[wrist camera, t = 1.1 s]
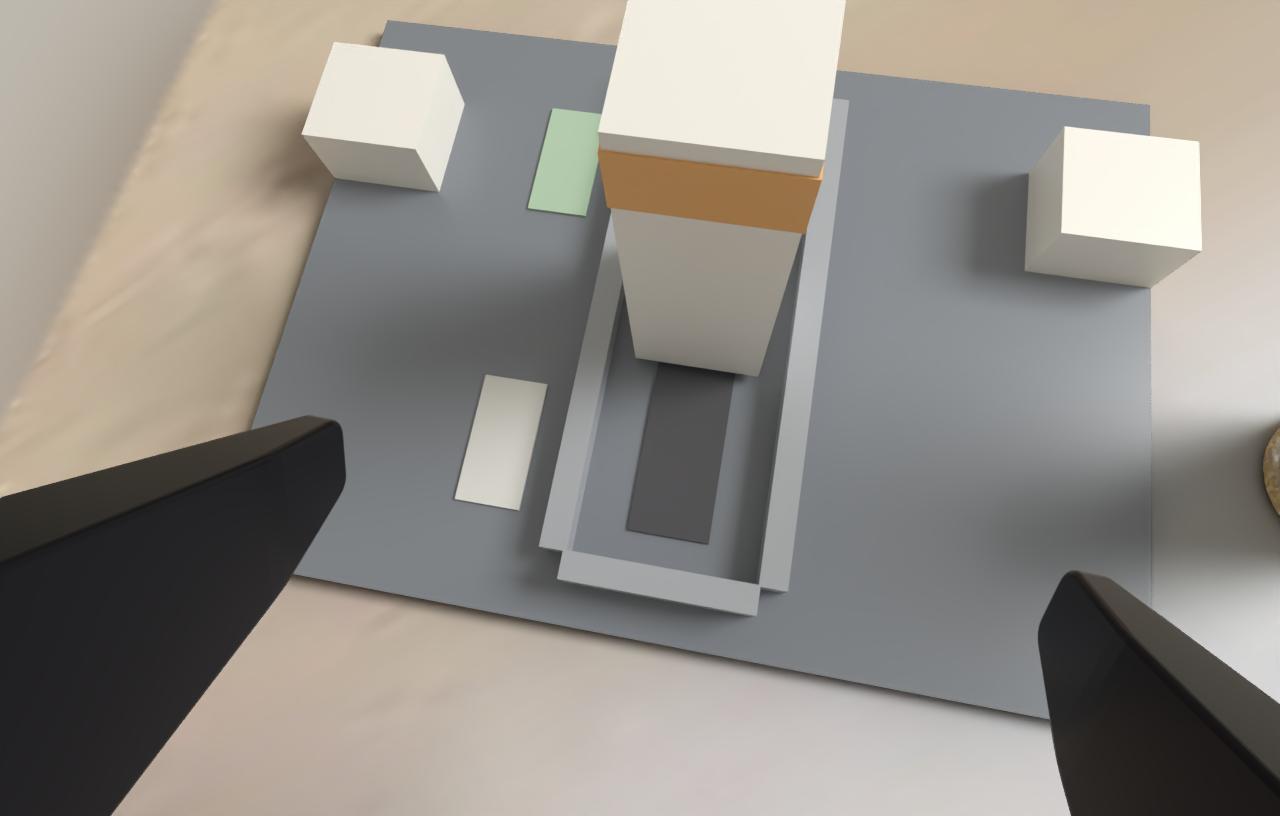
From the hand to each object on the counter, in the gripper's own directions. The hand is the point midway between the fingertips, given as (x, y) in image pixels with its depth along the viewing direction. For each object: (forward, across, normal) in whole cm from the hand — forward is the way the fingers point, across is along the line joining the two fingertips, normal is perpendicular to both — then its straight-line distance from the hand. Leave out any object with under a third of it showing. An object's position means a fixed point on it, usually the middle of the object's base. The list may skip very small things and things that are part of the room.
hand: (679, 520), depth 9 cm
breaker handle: (+15, +1, +3) cm, 15 cm away
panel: (+15, +1, +3) cm, 16 cm away
